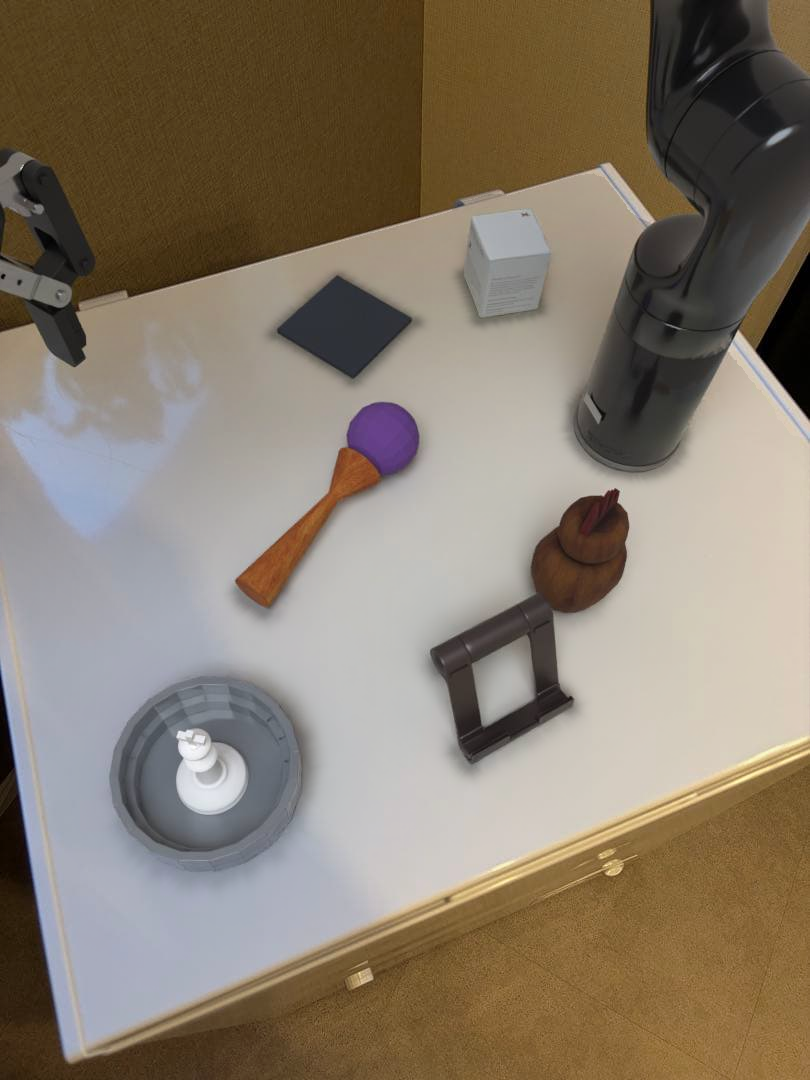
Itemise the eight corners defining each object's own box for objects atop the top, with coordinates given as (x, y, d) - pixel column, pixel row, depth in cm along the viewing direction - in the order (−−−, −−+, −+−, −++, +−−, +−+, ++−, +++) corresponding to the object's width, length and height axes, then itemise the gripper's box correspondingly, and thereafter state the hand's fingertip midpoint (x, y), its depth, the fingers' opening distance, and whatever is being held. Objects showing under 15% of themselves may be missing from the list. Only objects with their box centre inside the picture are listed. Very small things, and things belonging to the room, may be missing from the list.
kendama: (210, 556, 66) (369, 377, 73) (235, 594, 71) (381, 423, 78) (270, 592, 64) (428, 403, 71) (291, 629, 69) (437, 449, 76)
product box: (461, 274, 88) (469, 214, 81) (520, 266, 89) (533, 205, 82) (478, 319, 85) (489, 260, 78) (539, 310, 86) (554, 251, 79)
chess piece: (236, 822, 60) (216, 783, 51) (166, 806, 60) (134, 765, 52) (257, 752, 63) (241, 703, 54) (189, 737, 63) (163, 686, 54)
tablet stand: (468, 769, 63) (483, 732, 56) (412, 677, 66) (419, 631, 59) (569, 710, 66) (595, 668, 58) (511, 625, 69) (529, 575, 62)
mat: (337, 278, 87) (337, 274, 86) (411, 321, 84) (412, 317, 84) (277, 332, 83) (276, 328, 82) (353, 379, 80) (353, 375, 80)
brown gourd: (550, 636, 69) (595, 538, 56) (511, 577, 71) (546, 470, 58) (622, 601, 70) (682, 499, 57) (582, 544, 73) (631, 434, 60)
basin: (208, 665, 66) (199, 644, 63) (337, 763, 63) (335, 746, 59) (86, 798, 61) (69, 782, 57) (219, 912, 58) (211, 903, 54)
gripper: (-319, 254, 26) (-63, 544, 40) (45, 38, 32) (159, 354, 46) (-443, 166, 29) (-162, 467, 43) (-83, -20, 35) (61, 297, 49)
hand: (5, 408), depth 44 cm, fingers open, 8 cm apart
